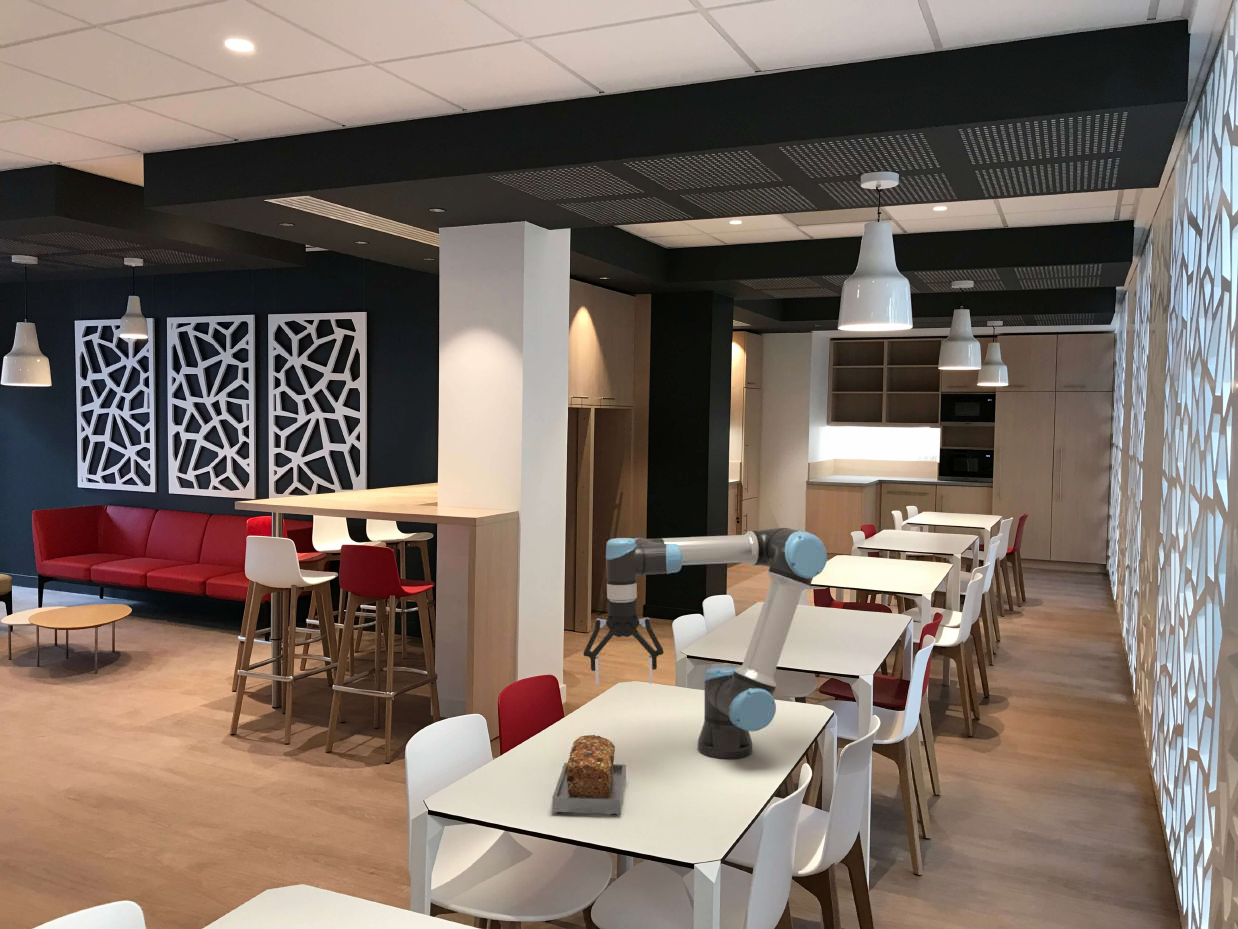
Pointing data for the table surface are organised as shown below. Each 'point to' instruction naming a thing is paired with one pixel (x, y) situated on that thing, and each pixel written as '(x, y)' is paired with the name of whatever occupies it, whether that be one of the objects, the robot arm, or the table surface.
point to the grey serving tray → (588, 804)
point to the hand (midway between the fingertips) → (624, 682)
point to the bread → (590, 767)
